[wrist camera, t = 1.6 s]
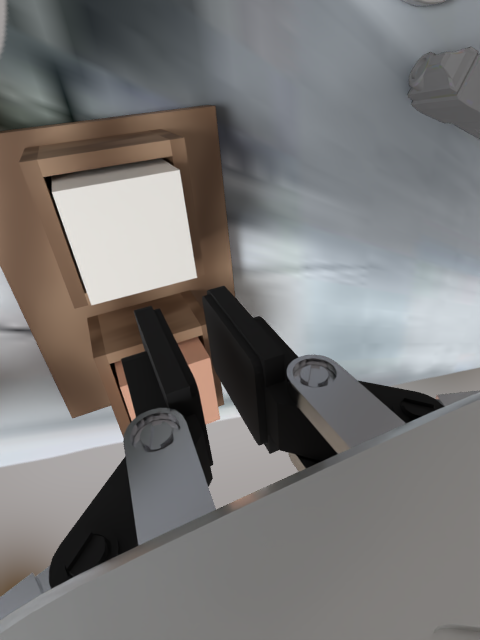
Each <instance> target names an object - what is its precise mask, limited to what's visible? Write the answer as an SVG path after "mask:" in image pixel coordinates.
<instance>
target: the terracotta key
mask: <svg viewBox="0 0 480 640" xmlns="http://www.w3.org/2000/svg"><path fill="white" fill-rule="evenodd" d="M177 344H178V346H179V348H180V350H181V352H182V354H183V356H184V358H185V360H186V362H187V364H188V366H189V368H190V370H191V372H192V374H193V376H194V378H195V381H196V383H197V386H198V390H199V394H200V399H201V404H202V409H203V414H204V419H205V424H208V423H211V422H214V421H216V420H219V419H220V416H219V410H218V403H217V397H216V391H215V385H214V379H213V373H212V366H211V360H210V357H209V355H208V353H207V352H206V350H205V348H204V346H203V345H202V343H201V341H200V340H199V338H198V337H195V338H192V339H188V340H185V341H182V342H179V343H177ZM114 364H115V368H116V372H117V377H118V381H119V385H120V389H121V391H122V394H123V397H124V400H125V403H126V406H127V409H128V412H129V414H130V417H131V420H132V421H133V419H135V418H136V415H135V411H134V408H133V404H132V400H131V396H130V392H129V388H128V385H127V381H126V377H125V373H124V369H123V366H122V362H121V361H117V362H114Z"/></svg>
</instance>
